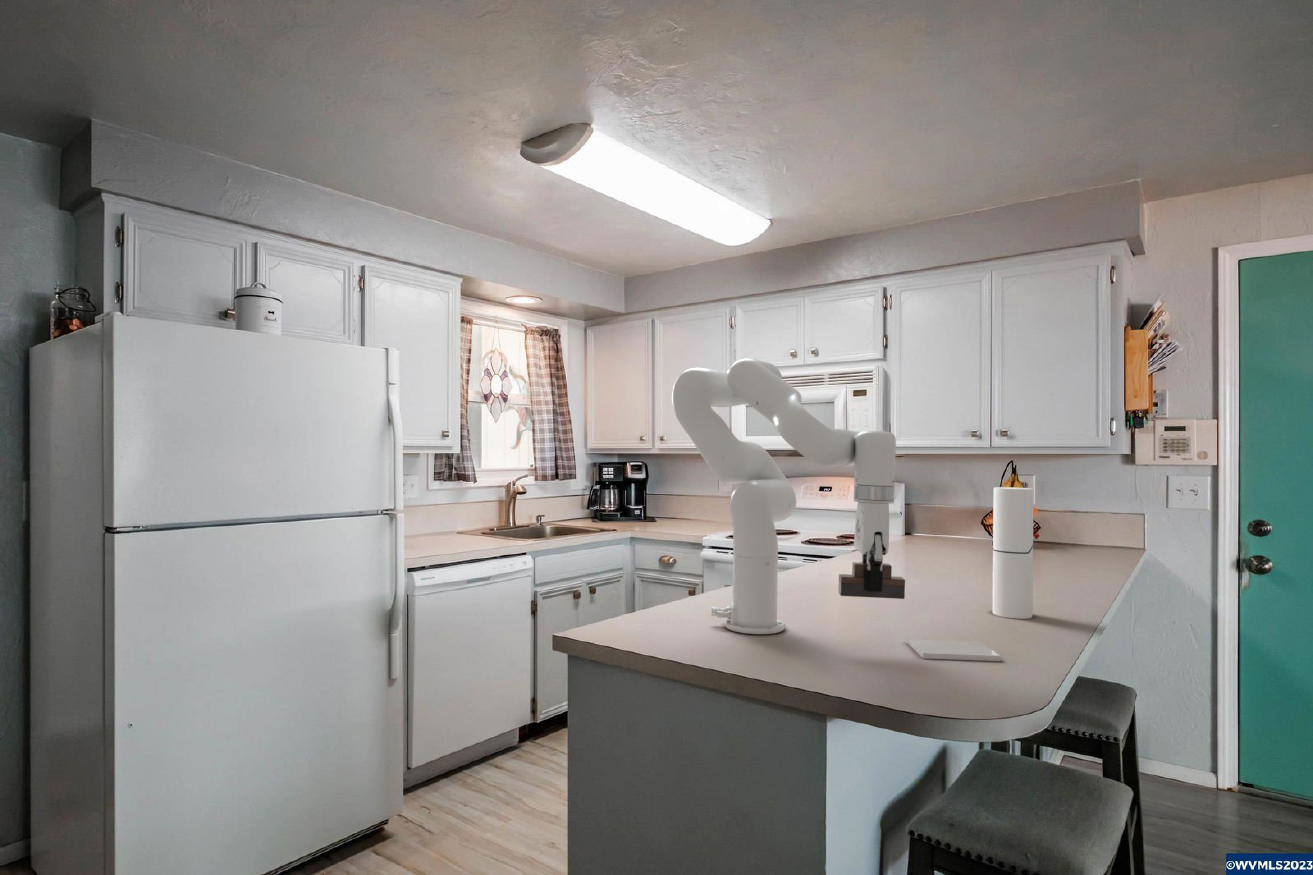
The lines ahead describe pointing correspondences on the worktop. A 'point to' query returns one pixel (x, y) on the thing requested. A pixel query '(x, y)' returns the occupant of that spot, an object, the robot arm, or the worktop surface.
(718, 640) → the worktop surface
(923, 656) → the tile
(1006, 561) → the container
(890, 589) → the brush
